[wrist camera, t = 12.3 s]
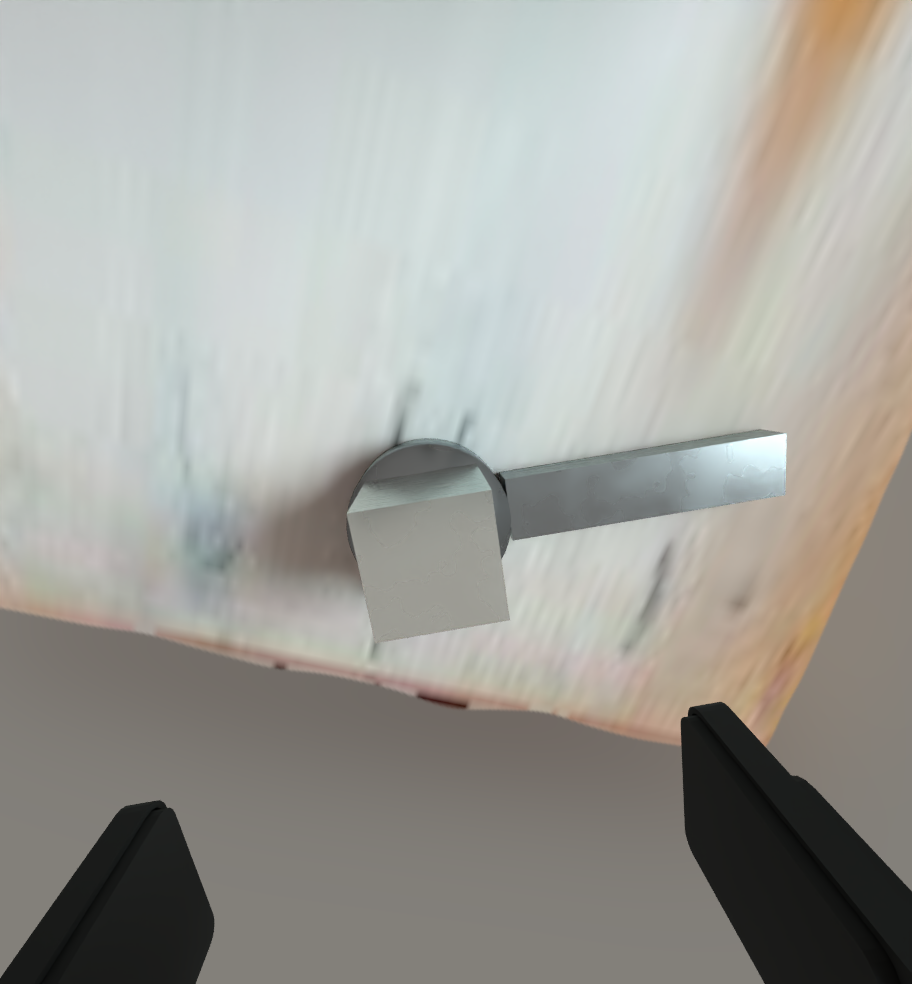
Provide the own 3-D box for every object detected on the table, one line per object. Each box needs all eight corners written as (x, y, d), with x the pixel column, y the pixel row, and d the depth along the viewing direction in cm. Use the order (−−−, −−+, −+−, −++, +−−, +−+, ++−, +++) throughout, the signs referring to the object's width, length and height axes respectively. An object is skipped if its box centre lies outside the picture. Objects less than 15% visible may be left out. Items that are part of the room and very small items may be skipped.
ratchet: (762, 383, 28) (842, 385, 22) (761, 528, 30) (834, 561, 24) (339, 451, 27) (317, 470, 22) (369, 594, 29) (357, 642, 24)
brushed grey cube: (476, 463, 25) (491, 489, 19) (491, 567, 27) (509, 620, 21) (365, 481, 25) (346, 513, 19) (386, 584, 26) (375, 643, 21)
